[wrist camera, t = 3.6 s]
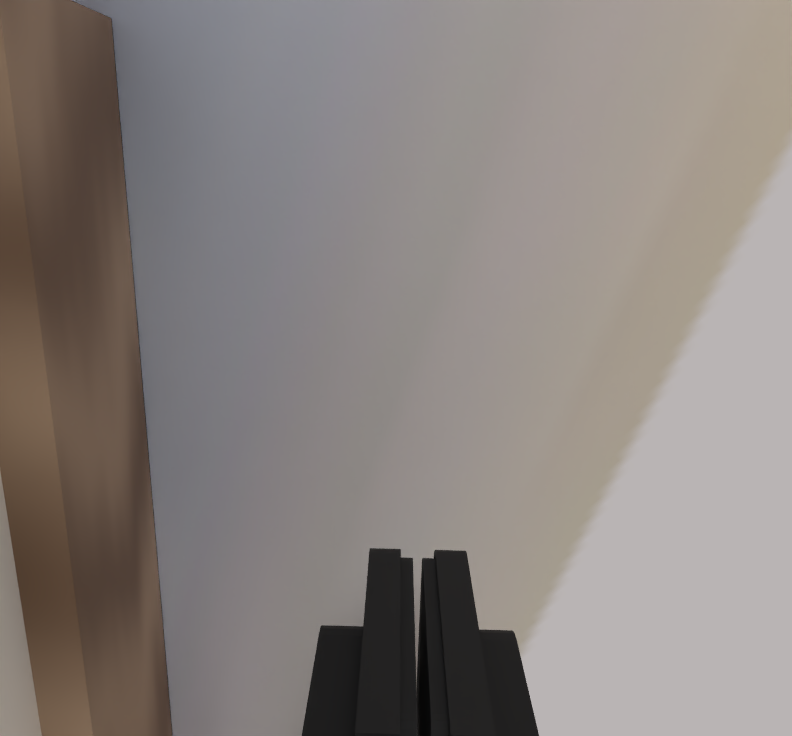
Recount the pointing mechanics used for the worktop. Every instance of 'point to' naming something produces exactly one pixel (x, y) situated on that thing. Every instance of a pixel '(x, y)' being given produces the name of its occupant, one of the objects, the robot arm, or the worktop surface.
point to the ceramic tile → (13, 646)
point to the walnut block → (74, 382)
